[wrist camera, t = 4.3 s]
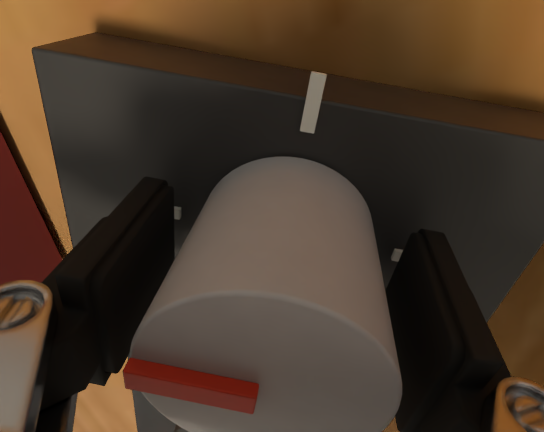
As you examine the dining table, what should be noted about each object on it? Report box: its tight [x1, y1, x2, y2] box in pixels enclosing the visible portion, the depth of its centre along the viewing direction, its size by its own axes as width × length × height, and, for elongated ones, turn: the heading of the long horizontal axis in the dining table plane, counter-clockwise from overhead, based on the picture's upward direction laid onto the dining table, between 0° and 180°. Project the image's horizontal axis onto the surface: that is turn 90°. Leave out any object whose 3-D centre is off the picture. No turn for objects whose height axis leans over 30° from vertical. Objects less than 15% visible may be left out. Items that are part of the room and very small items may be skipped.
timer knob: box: [123, 157, 402, 432], centre depth 9 cm, size 5×5×5 cm
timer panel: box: [32, 33, 544, 323], centre depth 12 cm, size 14×11×3 cm
